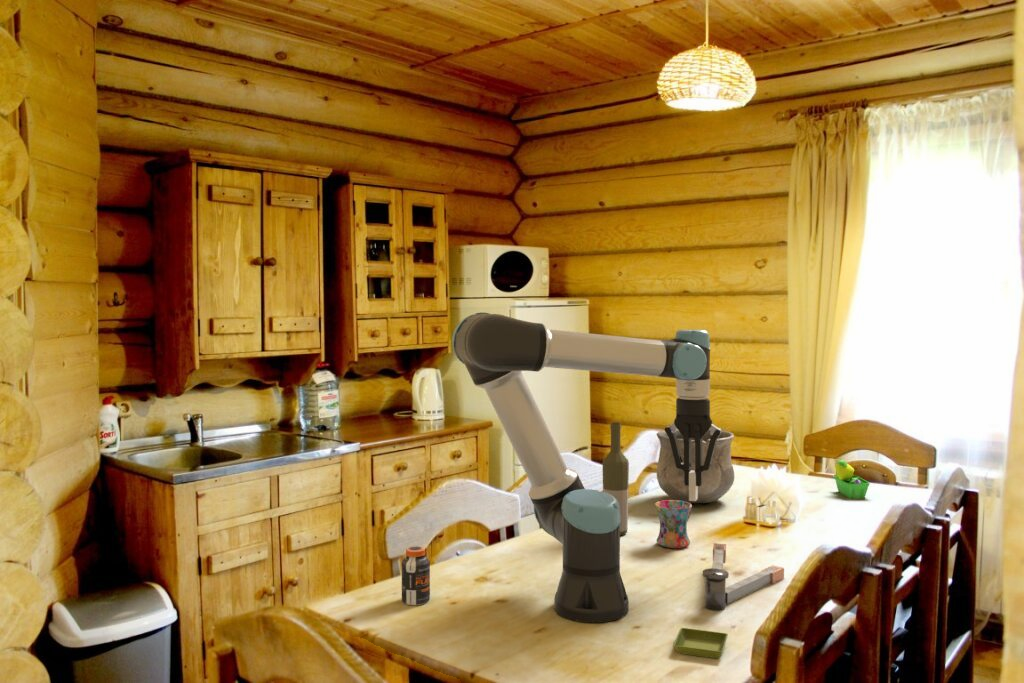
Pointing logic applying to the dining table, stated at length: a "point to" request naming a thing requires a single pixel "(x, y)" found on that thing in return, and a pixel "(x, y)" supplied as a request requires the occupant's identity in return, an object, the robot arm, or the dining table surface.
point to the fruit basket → (849, 481)
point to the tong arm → (719, 555)
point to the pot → (713, 479)
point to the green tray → (700, 642)
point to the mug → (673, 523)
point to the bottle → (617, 475)
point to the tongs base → (735, 585)
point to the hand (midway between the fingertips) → (693, 499)
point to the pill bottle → (415, 576)
